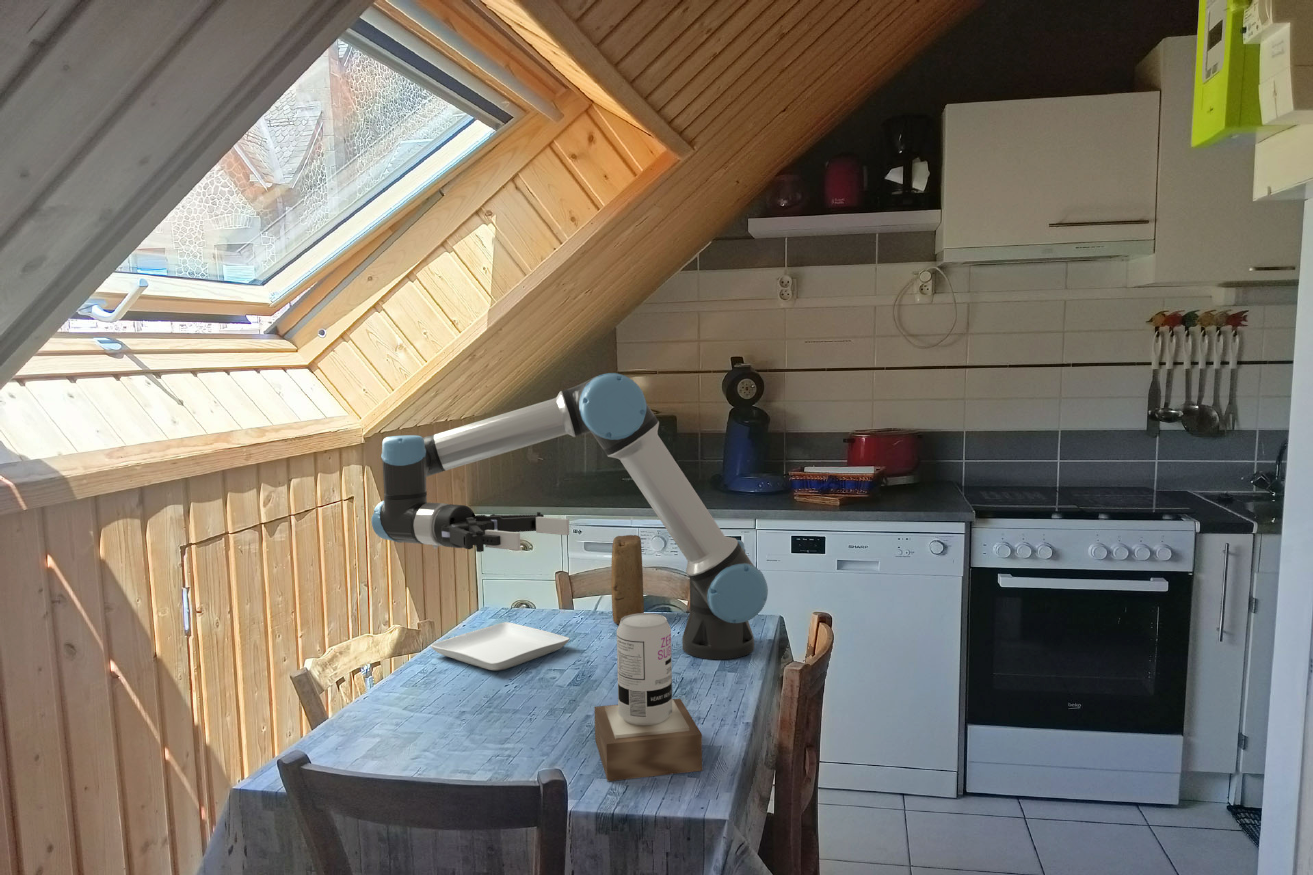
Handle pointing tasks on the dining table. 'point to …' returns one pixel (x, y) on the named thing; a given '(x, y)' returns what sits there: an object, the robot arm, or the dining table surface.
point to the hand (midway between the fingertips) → (544, 534)
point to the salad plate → (500, 646)
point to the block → (626, 577)
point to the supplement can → (644, 669)
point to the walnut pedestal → (647, 744)
